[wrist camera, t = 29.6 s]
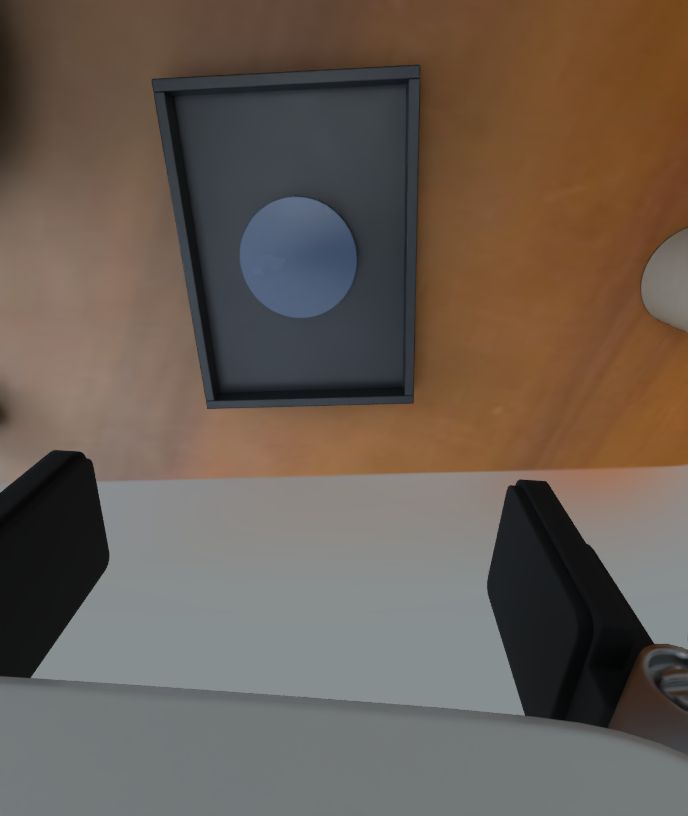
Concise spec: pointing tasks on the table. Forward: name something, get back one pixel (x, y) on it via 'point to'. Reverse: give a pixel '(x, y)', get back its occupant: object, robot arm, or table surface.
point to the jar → (668, 282)
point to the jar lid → (298, 256)
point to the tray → (284, 177)
